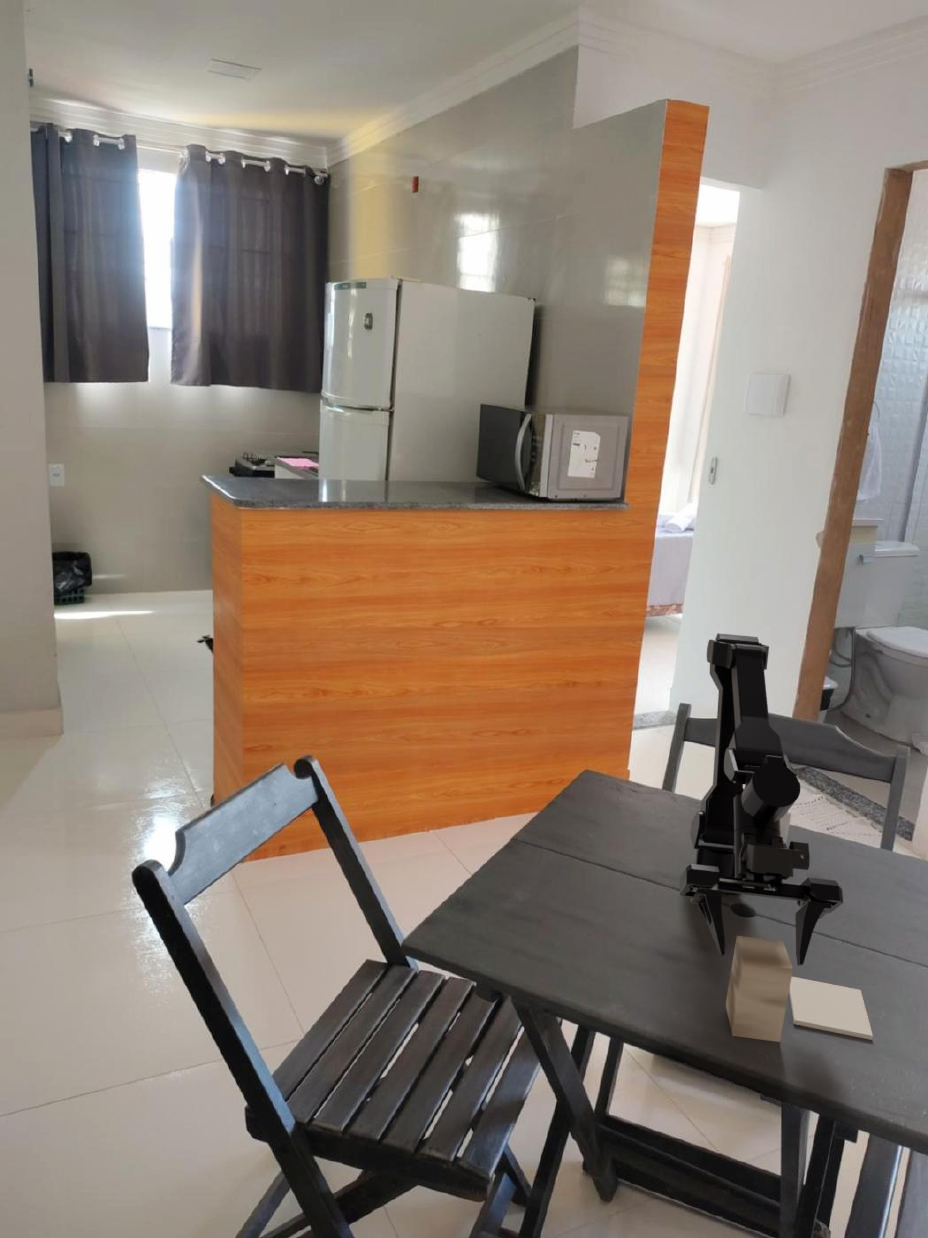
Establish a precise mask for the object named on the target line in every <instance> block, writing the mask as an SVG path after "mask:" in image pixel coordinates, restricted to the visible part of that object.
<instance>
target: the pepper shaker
mask: <svg viewBox="0 0 928 1238" xmlns="http://www.w3.org/2000/svg"><path fill="white" fill-rule="evenodd" d="M791 818H792V811H791V808H790V809H789V810H788V811H787V813H786V814H785V815H784V817H782V818H781V819H780V829H781V837H783V843H784V845H785V844H786V843H787V840H788V834H789V829H790V822H791Z"/></svg>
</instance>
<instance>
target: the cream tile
mask: <svg viewBox="0 0 928 1238" xmlns="http://www.w3.org/2000/svg"><path fill="white" fill-rule="evenodd" d="M861 990H862V989H858V988H852V987H848V986H842V985H838V984H837V985H836V984H831V983H826V982H822V981H816V980H811V979H806V978H800V977H798V976H797V977H796V976H792V978H791V983H790V989H789V994H788V997H789V1001H790V1008H791V1009H790V1010H791V1015H792V1021H793V1025H797V1026H802V1027H805V1028H811V1029H816V1030H820V1031H821V1030H822V1031H827V1032H831V1033H836V1034H841V1035H846V1036H850V1037H856V1038H860V1039H861V1038H862V1039H866V1040H869V1041H870V1040H871V1041H872V1040H873V1037H874V1035H873V1032H872V1028H871V1024H870V1020H869V1017H868V1013H867V1009H866V1005H865V1002H864V998H863V995H862V991H861Z"/></svg>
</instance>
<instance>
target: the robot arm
mask: <svg viewBox="0 0 928 1238" xmlns="http://www.w3.org/2000/svg"><path fill="white" fill-rule="evenodd" d="M769 652H770V646H769V645H767V644H763V643H761V642H760V641H759V638H758V637H757V636H750V635H739V634H729V633H717V634H716V636H715V639H708V642H707V647H706V662H707V663H709V676H710V677H711V679H712V681H713V683H714V685H715V687H716V689H717V690H718V694H717V695H718V697H717V698H718V699H717V710H716V711H717V712H716V713H717V714H716V726H715V727H716V729H715V746H714V758H713V775H712V777H713V778H712V785H711V786H710V787H709V789H708V790H707V792H705V795H703V797H702V799H701V801H700V809H699V810H697V811H696V813H695V815H694V816H693V818H692V820H691V823H690V834H689V835H690V840H691V843H692V847H693V848H692V849H694V850H696V851H695V852H696V853H695V860H694V863H690V864H689V865H688V866H686V868H685V869H684V871H683V873H682V874H681V876H680V879H679V896H681V897H684V898H690V901H689V903H690V904H691V905H694V906H695V905H696V906H697V907H698V909H699V911H700V912H701V914H702V916H703V918H704V921H705V922H706V925H707V926H708V929H709V932H710V934H711V936H712V939H713V941H714V944H715V947H716V949H717V952H718V955H719V957H724V956H725V954H726V950H725V949H726V936H725V930H724V929H725V927H724V918H723V911H722V908H723V907H722V904H723V903H722V901H723V893H725V894H730V895H736V894H738V895H746V896H754V897H763V898H764V897H765V898H770V899H771V898H772V899H780V900H788V901H796V904H797V905H798V906H799V909H798V910H797V911H796V912H795V955H796V957H795V958H796V961H797V962H796V963H797V966H798V967H802V966H803V965H804V964H805V959H806V957H807V952H808V950H809V945H810V943H811V939H812V936H813V933H814V930H815V927H816V925H817V922H818V921H819V920H820V919H822V918H824V916H825V915H827V914H831V913H833V911H835V910H837V908H839V907H840V906H842V904H844V896H843V895H844V894H843V889H842V886H841V885H840V884H839V882H838V881H837V880H834V879H832V880H831V879H825V878H817V877H808V876H807V878H806V879H805V880H804V881H803V882H802V883H800V884H791V883H784V880H785V881H786V880H788V879H789V878H793V877H794V869H795V870H805V871H807V870H809V869H810V860H811V859H810V858H811V855H810V854H811V853H810V846H809V845H810V844H809V843H808V842H802V841H790V842H789V845H788V848H786V847H784V845H785V844H784V843H783V837H781V829H780V819H781V818H782V817H784V815H785V814H786V813H787V811H788V810H789V809H790V810H791V808H792V807H793V805H794V804H795V802H796V801H797V800H798V799H799V796H800V794H801V788H802V787H801V782H799V778H798V777H797V772H796V771H795V770H794V768H793V767H792V765H791V763H790V760H789V758H788V755H787V754H786V753H784V750H783V743H782V738H781V736H780V735H779V733H777V731H776V730H775V729H774V728H773V727H772V726H771V723H770V717H769V707H768V705H769V704H768V697H767V686H766V676H765V670H767V669H768V661H769V659H768V658H769Z"/></svg>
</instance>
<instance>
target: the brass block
mask: <svg viewBox="0 0 928 1238" xmlns="http://www.w3.org/2000/svg"><path fill="white" fill-rule="evenodd" d="M732 957H733V958H732V961H731V962H732V963H731V970H730V975H729V981H728V988H727V993H726V1001H725V1010H726V1014H727V1017H728V1018H727V1019H728V1022H729V1027H730V1030H731V1034H732V1036H733V1037H741V1038H747V1039H755V1040H763V1041H769V1042H776V1043H777V1042H779V1043H780V1042H781V1038H782V1034H783V1033H782V1032H783V1027H784V1021H785V1016H786V1011H787V1004H788V999H789V989H790V983H791V978H792V977H793V972H794V971H793V970H794V968H793V965H792V962H791V959H790V956H789V954H788V951H787V948H786V946H785V944H784V941H783V940H778V939H777V940H775V939H767V938H760V937H759V938H758V937H751V936H743V935H736V939H735V945H734V952H733V956H732Z"/></svg>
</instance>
